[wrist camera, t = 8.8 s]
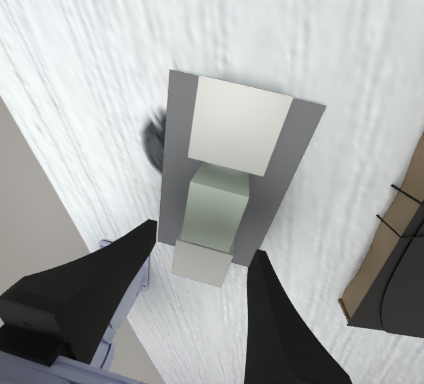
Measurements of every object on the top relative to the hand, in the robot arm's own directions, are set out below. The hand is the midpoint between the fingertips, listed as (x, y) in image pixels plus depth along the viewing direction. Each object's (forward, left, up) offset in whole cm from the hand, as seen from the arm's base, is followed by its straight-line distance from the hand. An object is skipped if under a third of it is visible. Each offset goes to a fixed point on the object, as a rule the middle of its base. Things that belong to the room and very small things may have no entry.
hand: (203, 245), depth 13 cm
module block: (0, 0, -8) cm, 8 cm away
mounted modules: (0, 0, -9) cm, 9 cm away
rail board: (0, 0, -9) cm, 9 cm away
